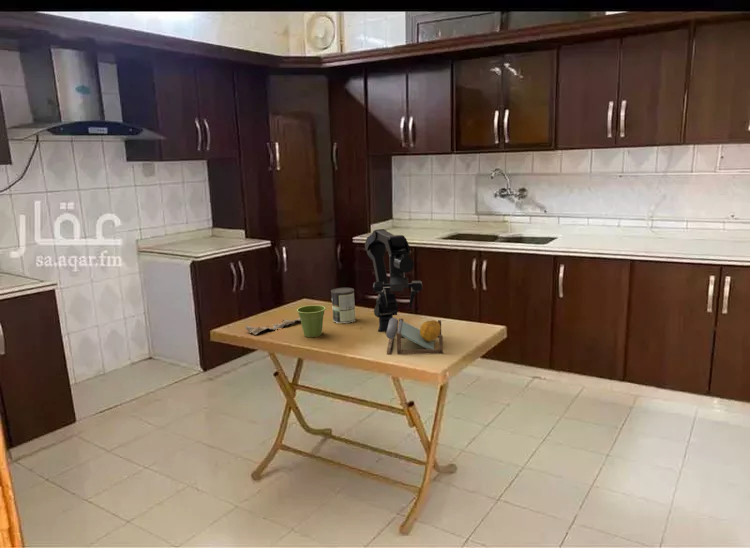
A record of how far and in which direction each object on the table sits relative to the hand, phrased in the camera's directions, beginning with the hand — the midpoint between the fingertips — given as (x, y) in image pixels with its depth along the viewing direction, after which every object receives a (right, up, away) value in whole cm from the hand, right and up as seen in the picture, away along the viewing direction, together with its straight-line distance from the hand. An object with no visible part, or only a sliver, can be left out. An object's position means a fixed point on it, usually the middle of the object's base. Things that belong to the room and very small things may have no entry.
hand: (398, 307), depth 212 cm
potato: (+10, -12, -6) cm, 16 cm away
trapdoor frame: (+6, -14, -5) cm, 16 cm away
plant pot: (-35, -12, +14) cm, 39 cm away
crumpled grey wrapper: (-50, -10, +31) cm, 60 cm away
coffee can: (-23, -8, +34) cm, 41 cm away
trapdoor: (+3, -12, -5) cm, 14 cm away
